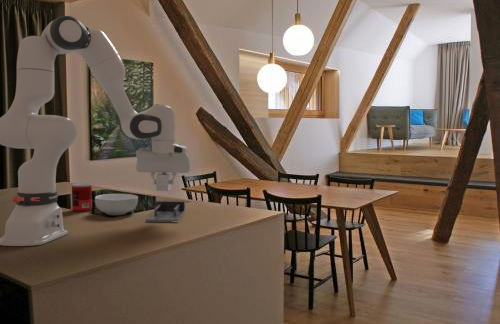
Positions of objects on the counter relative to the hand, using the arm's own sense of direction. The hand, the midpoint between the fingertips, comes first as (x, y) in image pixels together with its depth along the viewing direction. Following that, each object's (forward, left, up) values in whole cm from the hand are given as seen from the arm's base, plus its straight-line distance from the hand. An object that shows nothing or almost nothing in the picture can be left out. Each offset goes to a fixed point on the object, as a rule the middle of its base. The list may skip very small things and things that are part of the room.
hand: (163, 184), depth 177 cm
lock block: (0, 0, -2) cm, 2 cm away
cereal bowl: (+12, +21, -14) cm, 28 cm away
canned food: (+18, +37, -14) cm, 43 cm away
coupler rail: (+7, 0, -14) cm, 15 cm away
